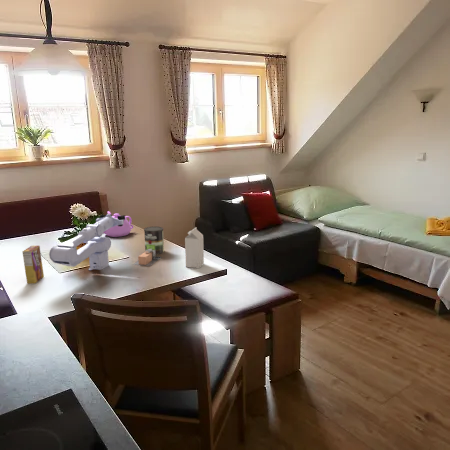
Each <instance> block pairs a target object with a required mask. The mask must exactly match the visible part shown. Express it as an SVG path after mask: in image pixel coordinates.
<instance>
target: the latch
mask: <svg viewBox="0 0 450 450" xmlns="http://www.w3.org/2000/svg"><path fill="white" fill-rule="evenodd" d="M144 252H145V253H152V259H155V258H156V256H157V254H155V250H152V249H147V250H146V251H144Z"/></svg>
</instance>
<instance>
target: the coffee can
mask: <svg viewBox="0 0 450 450" xmlns="http://www.w3.org/2000/svg"><path fill="white" fill-rule="evenodd" d="M143 231H144V248H145V249H144V250H145V251H146V250H147V249H152V250H155V255H160V254H163V253H164V252H165V250H164V249H165V248H164V246H165V245H164V241H165V240H164V228H163V227H162V226H148V227H145V228H144V229H143ZM145 251H144V252H145Z"/></svg>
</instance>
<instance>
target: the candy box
mask: <svg viewBox="0 0 450 450" xmlns="http://www.w3.org/2000/svg"><path fill="white" fill-rule="evenodd" d="M41 254H42V253H41V246H40V245H30V246H29V247H27V248H25V249H24V250H22V257H23V264H24V266H23V267H24V270H25V278H26V284H31V285H32V284H35V285H36V284H37V283H39V281H40V280H41V279H43V278H44V276H45V274H44V268H43V260H42V255H41Z"/></svg>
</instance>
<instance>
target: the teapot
mask: <svg viewBox="0 0 450 450" xmlns="http://www.w3.org/2000/svg"><path fill="white" fill-rule="evenodd" d="M107 214H110V215H112V213H111V211H109V210H108V211H107ZM118 216H120V213H114V214H113V215H112V217H114V218H116V219H118ZM128 219H129V220H128ZM132 220H133V219H132V217H131V216H130V215H125V220H124V224H123V226H118V225H117V226H114V227H111V228H109V229H108V230H106V231H105V232H103V234H105V235H106V236H107V237H109V238H110V237H111V238H117V237H124V236H127V235H128V236H129V234H130V233H131V231H132V229H134V225H133V224H132V222H133V221H132ZM103 234H102V235H103Z"/></svg>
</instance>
